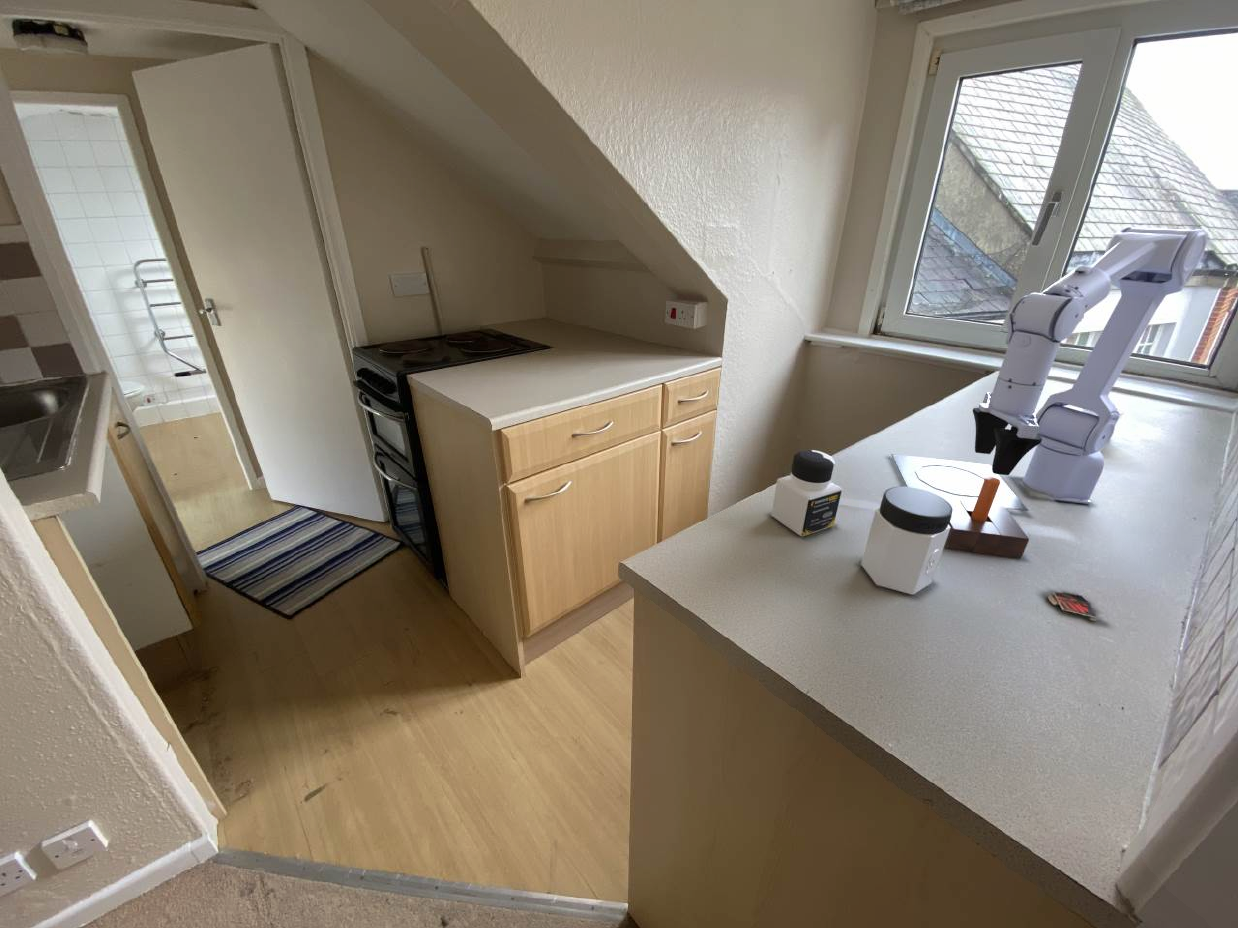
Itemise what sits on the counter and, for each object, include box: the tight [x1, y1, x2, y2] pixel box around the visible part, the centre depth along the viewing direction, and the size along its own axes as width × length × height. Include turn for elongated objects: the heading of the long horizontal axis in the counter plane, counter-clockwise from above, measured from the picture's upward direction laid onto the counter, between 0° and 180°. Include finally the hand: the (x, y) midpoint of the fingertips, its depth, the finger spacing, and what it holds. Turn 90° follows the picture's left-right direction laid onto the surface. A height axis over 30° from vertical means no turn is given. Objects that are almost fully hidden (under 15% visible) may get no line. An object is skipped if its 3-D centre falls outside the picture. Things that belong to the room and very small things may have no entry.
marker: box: [971, 477, 1001, 522], centre depth 81 cm, size 2×2×10 cm
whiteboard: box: [891, 453, 1029, 512], centre depth 98 cm, size 18×18×1 cm
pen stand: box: [944, 498, 1030, 559], centre depth 83 cm, size 10×10×4 cm
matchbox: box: [1046, 591, 1102, 623], centre depth 68 cm, size 5×5×1 cm
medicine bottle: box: [771, 449, 843, 537], centre depth 84 cm, size 7×7×12 cm
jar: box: [860, 486, 953, 596], centre depth 72 cm, size 9×8×12 cm
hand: (990, 462), depth 83 cm, fingers open, 7 cm apart
